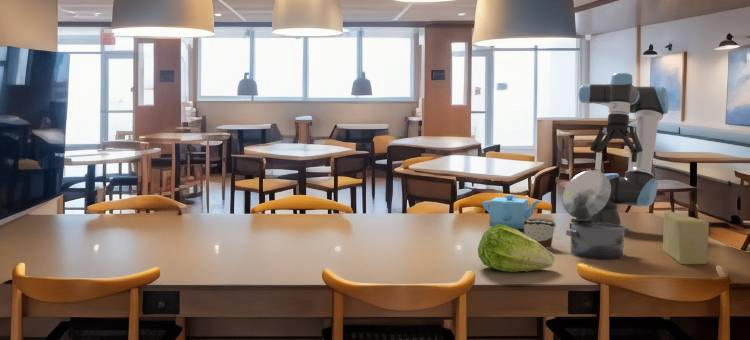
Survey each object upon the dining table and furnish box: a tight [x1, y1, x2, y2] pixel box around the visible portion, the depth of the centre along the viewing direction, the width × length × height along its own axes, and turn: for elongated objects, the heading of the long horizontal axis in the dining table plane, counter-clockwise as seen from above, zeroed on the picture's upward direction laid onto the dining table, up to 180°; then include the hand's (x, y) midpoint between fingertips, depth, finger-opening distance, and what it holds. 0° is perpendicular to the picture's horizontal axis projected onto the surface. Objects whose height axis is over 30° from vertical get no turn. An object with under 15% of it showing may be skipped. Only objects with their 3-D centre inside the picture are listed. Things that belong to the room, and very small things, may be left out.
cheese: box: [662, 210, 710, 265], centre depth 246 cm, size 22×10×15 cm, turn 2°
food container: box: [522, 217, 557, 249], centre depth 265 cm, size 12×6×10 cm, turn 71°
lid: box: [561, 169, 611, 223], centre depth 258 cm, size 20×19×4 cm
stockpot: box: [565, 222, 629, 261], centre depth 252 cm, size 20×23×10 cm
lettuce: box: [477, 224, 556, 273], centre depth 227 cm, size 15×24×16 cm
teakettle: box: [482, 194, 542, 231], centre depth 298 cm, size 19×19×15 cm
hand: (614, 170), depth 264 cm, fingers open, 13 cm apart
